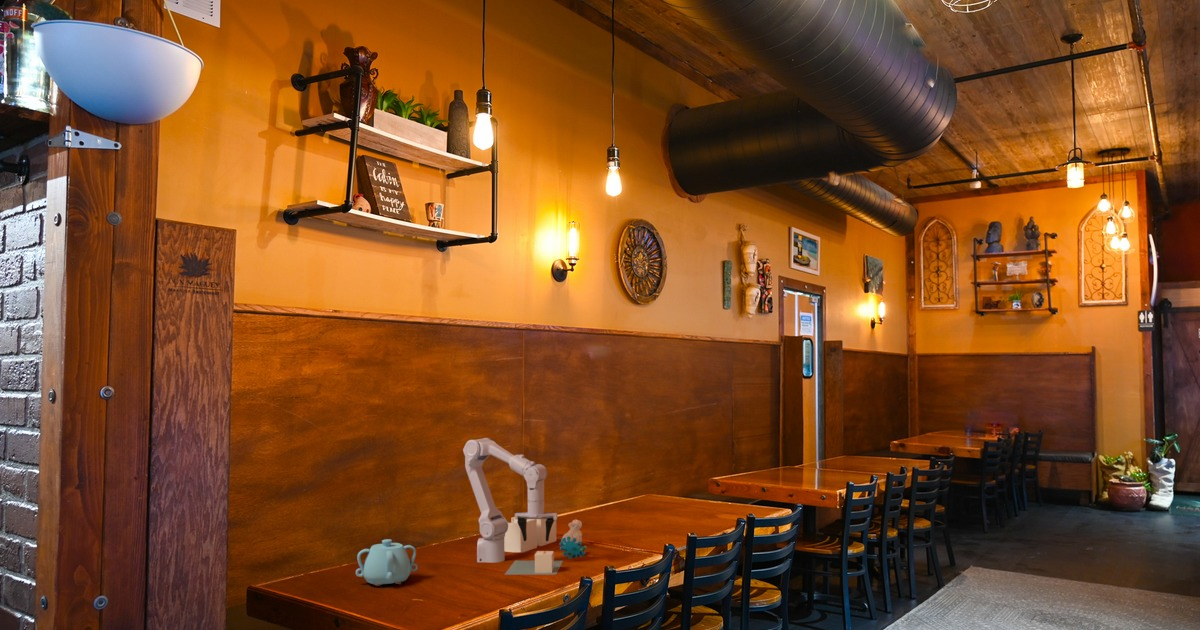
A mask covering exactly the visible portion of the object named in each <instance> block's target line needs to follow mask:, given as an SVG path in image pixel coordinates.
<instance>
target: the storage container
mask: <svg viewBox="0 0 1200 630" xmlns="http://www.w3.org/2000/svg"><path fill="white" fill-rule="evenodd" d="M546 520H547V519H527V523H526V534H527V540H526V541H524V540H523V535H522V532H521V529H520V527H519V525H518V522H517V521H518V519H515V516H513V517H511V522H508V530H507V532H506V533H505V536H504V549H505V553H506V552H507V553H526V552H529V551H530V550H534V549H537V548H538V547H542V546H546V545H548V544H552V543H554V542H557V520H554V522H553V525H552V527H551V530H550V534H549V540H548V541H546Z"/></svg>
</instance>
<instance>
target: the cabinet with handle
mask: <svg viewBox="0 0 1200 630" xmlns="http://www.w3.org/2000/svg"><path fill="white" fill-rule="evenodd" d="M554 553H555V551H554V550H551V551H550V550H537V551H535V553H534V561H535V573H552V572H553V570H554V561H555V554H554Z"/></svg>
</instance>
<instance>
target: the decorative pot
mask: <svg viewBox="0 0 1200 630" xmlns="http://www.w3.org/2000/svg"><path fill="white" fill-rule="evenodd" d="M407 549H411V550H412V554H411V555H412V556H411V559H410V558H409V555H408V552H407ZM364 553H367V555H366V557H365V559H364V562H362V557H361V555H362V554H364ZM356 556H357V557H356V559H357V563H358V566H359V568H357V569H356V570H355V575H356V577H360V578H362V577H363V578H364V580H365V581H366V582H367V583H369V584H371V585H373V586H374V585H382V586H383V585H387V584H394V583H401V582H402V583H403V582H405V581H406V580H407V579H408V578H409V576H410V575H411V573H414V572H416V571H417V570H418V566H419V565H418V564H417V563H414V562H415V559H416V556H417V550H416V548H415V547H414V546H413V545H410V544H407V545H403V544H402V543H399V542H393V539H391V538H388V539H387V538H386V539H383V540H381V543H377V544H372V545H371V547H370V548H364V549H362V550H360V551H359V552H358V553H357V555H356ZM413 566H414V567H413ZM360 571H361V572H360ZM359 572H360V573H359Z"/></svg>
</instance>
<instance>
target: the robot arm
mask: <svg viewBox="0 0 1200 630" xmlns="http://www.w3.org/2000/svg"><path fill="white" fill-rule="evenodd" d="M462 451H463V455H464V461H465V462H464V463H465V464H464V467H465V471H466V474H467V477H468V479H469V482H470V486H471V489H472V491H473V494H474V496H475V500H476V502H477V506H478V508H479V511H480V516H479V518H478V524H479V534H480V535H481V537H479V538H478V540H477V543H476V544H477V545H476V562H477V563H490V564H491V563H493V564H494V563H501V562H504V561H505V560H506V559H505V554H506V552H505V549H504V536H505V533H506V532H507V530H508V523H509V522H508V520H507V519H506V518H505V517H504V515H503V512H502V511H501V510H499V509H498V508H497V507H496V504H495V501H494V498H493V496H492V493H491V490H490V488H489V484H488V481H487V479H486V476H485V473H484V470H483V467H482V466H483V464H484V462H485V461H486V460H487V459H488V458H489V456H493V457H494V458H497V459H498V460H500V461H503V462H504V463H506V464H508V465H509V468H510V470H512V471H513V472H515V473H516V474H519V475H520V476H523V477H524V480H525V481H526V487H527V511H526V512H516V513H514V517H515V519H518V521H517V522H518V525H519V527H520V529H521V532H522V535H523V540H524V541H526V540H527V534H526V523H527V519H547V520H546V541H548V540H549V534H550V530H551V527H552V525H553V522H554V520H556V521H557V520H558V513H557V512H545V480H546V479H547V476H548V471H547V468H546V467H545V466H544V465H543V464H541V463H537V464H536V462H535V461H534V460H533V461H531V460H529V459H528V458H526V457H525V455H524V454H523V453H522V454H515V455H514V454H512V453H511V452H509V451H508V450H506V449H505V448H503V447H502V446H500V445H499V444H497V443H496V441H494V440H492V439H491V438H488V437H484V438H479V439H469V440H467V442H466V443H465V445H464V447H463V449H462Z"/></svg>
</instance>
